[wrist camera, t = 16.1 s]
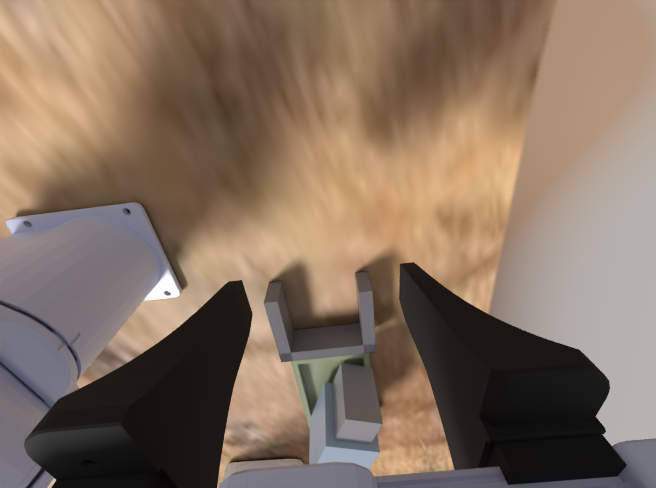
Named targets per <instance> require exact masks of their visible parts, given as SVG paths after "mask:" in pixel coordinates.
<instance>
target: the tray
mask: <svg viewBox="0 0 656 488" xmlns="http://www.w3.org/2000/svg"><path fill="white" fill-rule="evenodd" d="M291 363H292V367H293V370H294V374H295V378H296V382H297V385H298V389H299V393H300V396H301V400H302V404H303V407H304V411H305V415H306V418H307V422H308V426H309V429H310V418H311V415H312V413H313V410H314V408H315V405H316V403H317V400H318V398H319V395H320V393H321V390H322V388H323V385H324V383H325V382H326V383H333V381H334V378H335V376H336V374H337V371H338V369H339V367H340V364H341V363H345V364H352V365H358V366H364V367H370V361H369V353H365V354H355V355H345V356H336V357H326V358H316V359H306V360H297V361H291Z"/></svg>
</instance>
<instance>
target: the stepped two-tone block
mask: <svg viewBox="0 0 656 488" xmlns="http://www.w3.org/2000/svg"><path fill="white" fill-rule="evenodd" d="M382 425H383V422H382V417H381V411H380V406H379V401H378V395H377V390H376V385H375V379H374V374H373V369H372V368H371V367H364V366H358V365H352V364H345V363H341V364H340V367H339V369H338V371H337V374H336V376H335V378H334V381H333V383H326V382H325V383H324V385H323V388H322V390H321V393H320V395H319V398H318V400H317V403H316V405H315V408H314V410H313V413H312V415H311V418H310V448H309V464H317V463H329V462H346V463H355V464H358V465H360V466H363V467H365V468H367V469H368V470H369V468H370V467H371V465H372V464H373V462H374V461H375V459H376V458H377V456H378V455H379V453H380V450H379V444H378V438H377V433H378V431H379V430H380V428H381V426H382Z"/></svg>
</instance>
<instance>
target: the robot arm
mask: <svg viewBox="0 0 656 488" xmlns="http://www.w3.org/2000/svg"><path fill="white" fill-rule="evenodd" d="M126 208H127V209H129V210H130V211H131V213H129V212H127V210H126ZM29 222H30V223H31V224H30V223H29ZM6 225H7V227H8V228H9V230H10V231H11V232H12V235H10V236H8V237H6V238H4V239H2V240H0V488H47V487H48V486H49V484H50V483H51V481H52V480H53V478H55V479H56V482H55V483H54V485H53V486H52V488H217V483H218V475H219V467H220V460H221V454H222V447H223V440H224V434H225V428H226V423H227V417H228V411H229V406H230V401H231V396H232V391H233V387H234V383H235V379H236V376H237V373H238V370H239V367H240V363H241V360H242V357H243V354H244V350H245V347H246V344H247V340H248V337H249V333H250V327H251V321H252V311H251V308H250V305H249V301H248V298H247V295H246V292H245V289H244V286H243V282H242V280H240V281H230V282H228V283H227V284H225V285H224V286H223V287H222V288H221V289H220V290H219V291H218V292H217V293H216V294H215V295H214V296H213V297H212V298H211V299H210V300H209V301H207V302H206V303H205V304H204V305H203V306H202V307H201V308H200V309H199V310H198V311H197V312H196V313H195V314H193V315H192V316H191V317H190V318H189V319H188V320H186V321H185V322H184V323H183V324H182V325H181V326H180V327H178V328H177V329H176V330H175V331H173V332H172V333H171V334H169V335H168V336H167V337H165V338H164V339H163V340H161V341H160V342H159V343H157V344H156V345H154V346H153V347H151V348H150V349H148V350H147V351H145V352H144V353H142V354H141V355H139V356H138V357H136V358H134V359H133V360H131V361H130V362H128V363H126V364H125V365H123V366H121V367H120V368H118V369H116V370H114V371H113V372H111V373H109V374H107V375H105V376H104V377H102V378H100V379H98V380H96V381H94V382H92V383H90V384H88V385H86V386H84V387H82V388H80V389H79V388H78V386H77V381H78V379H79V378H80V377H81V376H82V375H83V373H84V372H85V371H86V370H87V368H88V367H89V366H90V365H91V364H92V362H93V361H94V360H95V359H96V358H97V356H98V355H99V354H100V353H101V351H102V350H103V349H104V348H105V347H106V345H107V344H108V343H109V342H110V341H111V339H112V338H113V337H114V336H115V335H116V333H117V332H118V331H119V330H120V328H121V327H122V326H123V325H124V324H125V322H126V321H127V320H128V319H129V318H130V316H131V315H132V314H133V313H134V311H135V310H136V309H137V308H138V307H139V305H140V304H141V303H142V302H143V301H145V300H154V299H163V298H172V297H178V296H179V295H180V294H181V292H182V289H181V287H180V285H179V283H178V281H177V278H176V276H175V274H174V272H173V270H172V268H171V266H170V263H169V261H168V259H167V257H166V255H165V253H164V251H163V248H162V246H161V244H160V242H159V240H158V238H157V235H156V233H155V231H154V229H153V227H152V225H151V223H150V220H149V218H148V216H147V214H146V212H145V210H144V208H143V206H142V205H141V204H139V203H137V202H132V203H124V204H116V205H108V206H100V207H92V208H84V209H76V210H68V211H60V212H52V213H44V214H36V215H28V216H20V217H13V218H11V219H8V220H7V221H6ZM167 291H169V292H170V293H169V292H167ZM399 300H400V303H401V307H402V311H403V314H404V318H405V321H406V323H407V325H408V328H409V330H410V333H411V335H412V337H413V340H414V342H415V344H416V347H417V349H418V351H419V354H420V356H421V358H422V361H423V363H424V366H425V369H426V371H427V374H428V377H429V381H430V384H431V387H432V390H433V393H434V397H435V400H436V404H437V407H438V410H439V414H440V417H441V421H442V424H443V428H444V432H445V435H446V439H447V442H448V446H449V450H450V454H451V458H452V461H453V465H454V469H455V470H450V471H438V472H425V473H413V474H401V475H388V476H376V477H374V476H373V474H372V473H371V471H370V470H368V469H367V468H365V467H363V466H360V465H358V464H355V463H346V462H329V463H317V464H305V465H292V466H280V467H268V468H256V469H248V470H243V471H239V472H235V473H233V474H231V475H230V476H229V477H228V478H226V479H225V480H224V481H223V482H221V483H220V485H219V488H656V439H644V440H632V441H625V442H620V443H618V444H615V445H613V446H611V445H610V444H609V442H608V441H607V440H606V439H605V437H604V436H603V435H602V434H604V433H605V432H606V430H605V428H604V426H603V425H602V424H601V423H600V421H599V420H598V419H597V418H596V417H595V416H596V415H597V413H598V411H599V410H600V408H601V406H602V404H603V403H604V401H605V400H606V398H607V396H608V393H609V389H610V386H609V380H608V379H607V377H606V376H605V375H604V374H603V373H602V372H601V371H600V370H599V369H598V368H597V367H596V366H595V365H594V364H593V363H592V362H591V361H590V360H589V359H588V358H587V357H586V356H585V355H584V354H583V353H582V352H581V351H580V350H578V349H575V348H572V347H569V346H566V345H563V344H560V343H556V342H553V341H550V340H547V339H544V338H542V337H539V336H536V335H534V334H531V333H529V332H526V331H523V330H521V329H519V328H516V327H514V326H512V325H510V324H507V323H505V322H503V321H501V320H499V319H497V318H495V317H493V316H491V315H489V314H487V313H485V312H483V311H481V310H480V309H478V308H476V307H474V306H473V305H471V304H469V303H467V302H466V301H464V300H463V299H461V298H460V297H458V296H457V295H455V294H454V293H452V292H451V291H449V290H448V289H447V288H445V287H444V286H443V285H441V284H440V283H439V282H437V281H436V280H435V279H433V278H432V277H431V276H430V275H428V274H427V273H426V272H425V271H424V270H422V269H421V268H420V267H419V266H418V265H416V264H415V263H414V262H413V263H403V264H400V293H399Z"/></svg>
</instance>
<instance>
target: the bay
mask: <svg viewBox="0 0 656 488" xmlns="http://www.w3.org/2000/svg"><path fill="white" fill-rule="evenodd" d="M355 277H356V288H357V299H358V311H359V322H360V323H355V324H346V325H337V326H327V327H318V328H308V329H299V330H293V326H292V322H291V318H290V314H289V310H288V306H287V302H286V298H285V294H284V290H283V286H282V282H281V281H278V282H269V285H268V289H267V293H266V297H265V301H264V305H265V309H266V312H267V315H268V319H269V322H270V325H271V329H272V332H273V335H274V339H275V342H276V346H277V349H278V352H279V356H280V359H281V362H287V361H297V360H306V359H316V358H326V357H336V356H345V355H355V354H365V353H374V352H376V343H375V325H374V307H373V290H372V287H371V283H370V279H369V275H368V271H367V272H358V273H355Z"/></svg>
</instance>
